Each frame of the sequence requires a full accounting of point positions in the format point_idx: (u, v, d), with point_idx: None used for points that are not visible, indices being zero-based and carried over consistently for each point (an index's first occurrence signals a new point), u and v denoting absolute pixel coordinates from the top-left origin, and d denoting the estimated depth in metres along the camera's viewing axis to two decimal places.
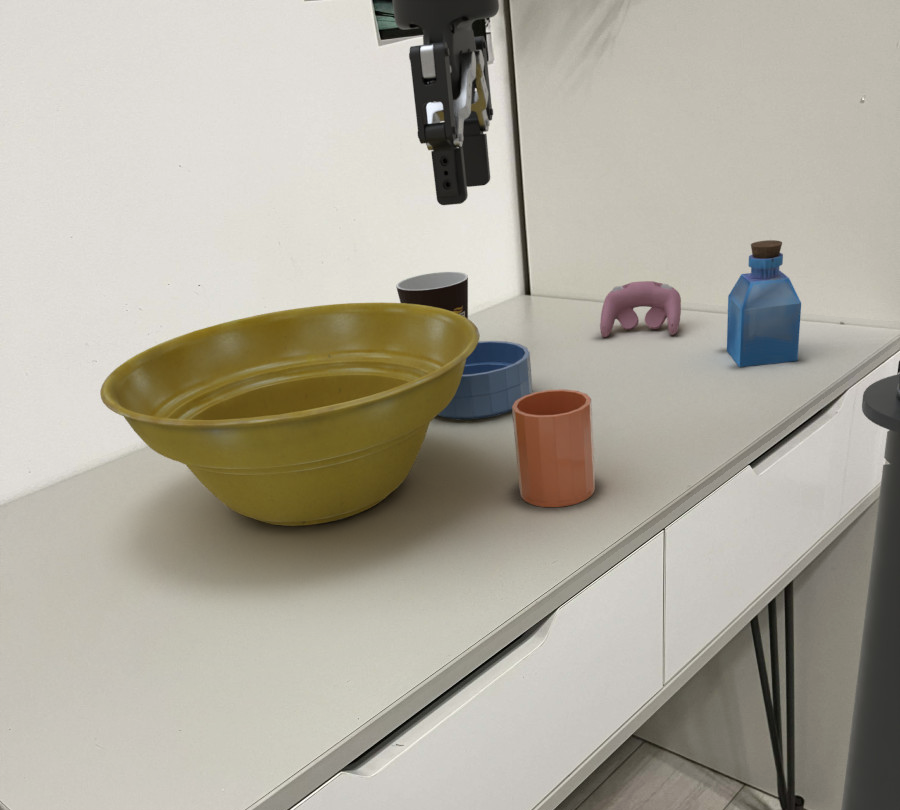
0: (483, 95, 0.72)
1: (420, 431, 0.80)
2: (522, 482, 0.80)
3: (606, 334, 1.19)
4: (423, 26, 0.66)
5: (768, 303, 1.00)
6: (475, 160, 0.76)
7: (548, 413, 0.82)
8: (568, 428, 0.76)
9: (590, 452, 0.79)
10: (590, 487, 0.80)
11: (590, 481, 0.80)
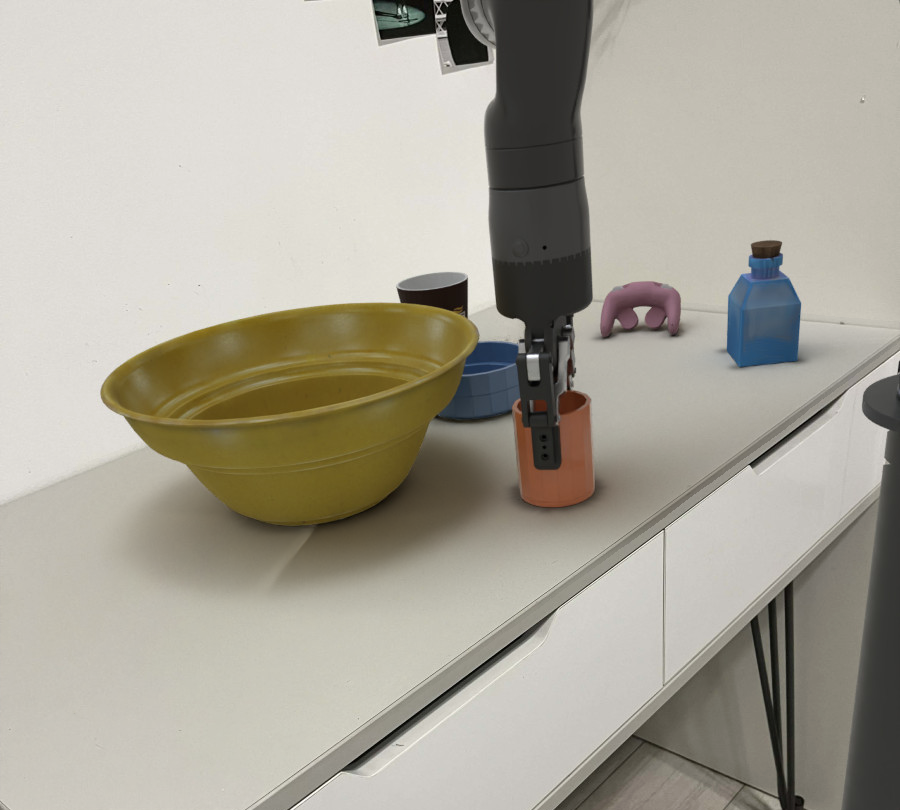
0: (572, 363, 0.78)
1: (420, 431, 0.80)
2: (522, 482, 0.80)
3: (606, 334, 1.19)
4: (526, 322, 0.72)
5: (768, 303, 1.00)
6: None
7: None
8: (568, 428, 0.76)
9: (590, 452, 0.79)
10: (590, 487, 0.80)
11: (590, 481, 0.80)
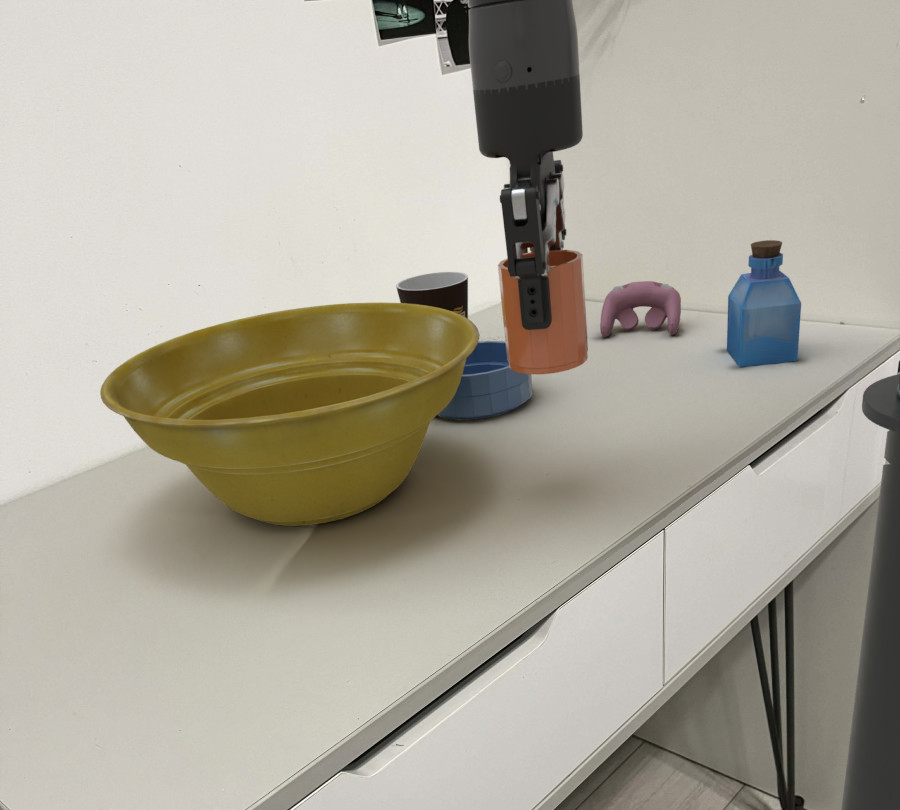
0: (561, 217, 0.73)
1: (420, 431, 0.80)
2: (510, 349, 0.75)
3: (606, 334, 1.19)
4: (510, 158, 0.66)
5: (768, 303, 1.00)
6: None
7: None
8: (558, 282, 0.71)
9: (582, 313, 0.74)
10: (583, 353, 0.75)
11: (582, 346, 0.75)
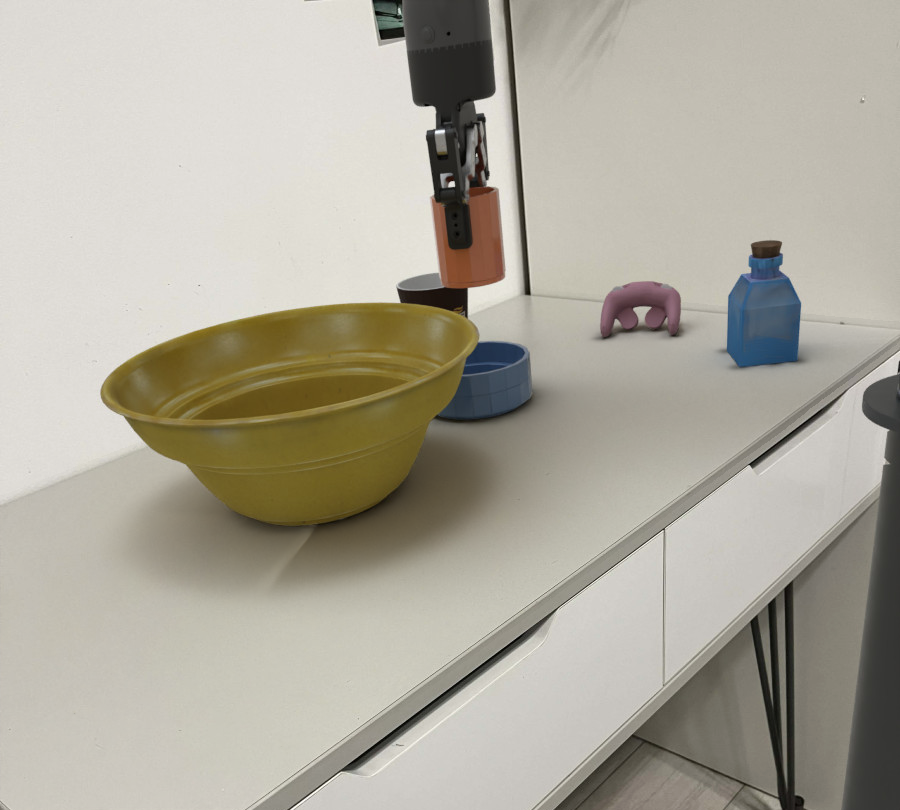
0: (482, 158, 0.89)
1: (420, 431, 0.80)
2: (440, 268, 0.92)
3: (606, 334, 1.19)
4: (436, 106, 0.83)
5: (768, 303, 1.00)
6: None
7: None
8: (477, 210, 0.87)
9: (498, 237, 0.90)
10: (500, 271, 0.91)
11: (500, 266, 0.91)
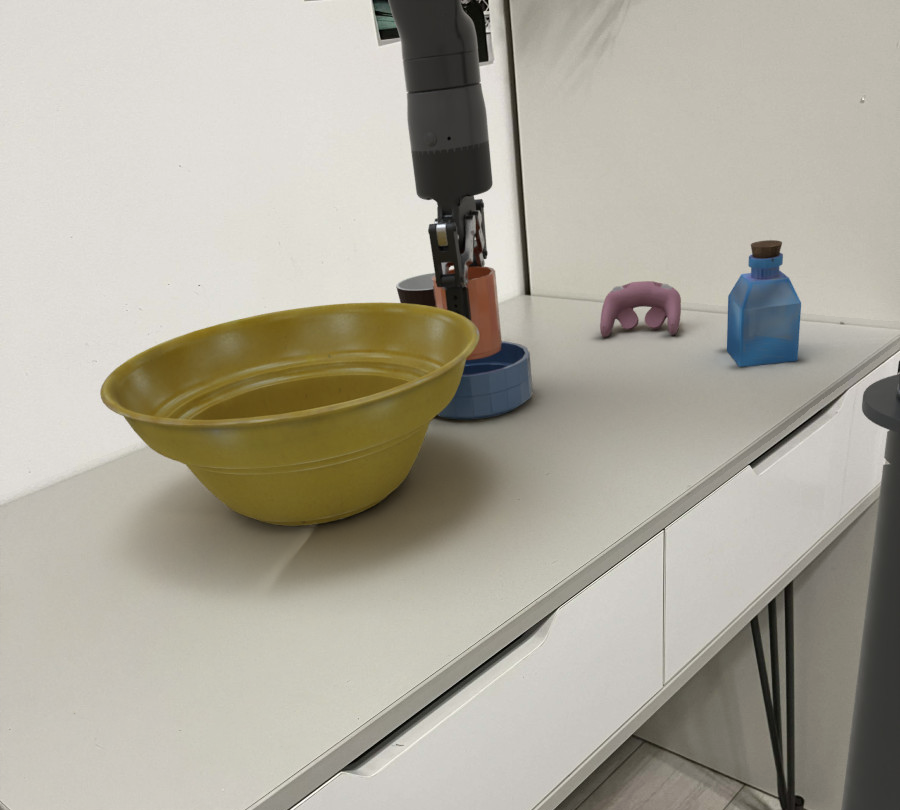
0: (480, 242, 0.97)
1: (420, 431, 0.80)
2: None
3: (606, 334, 1.19)
4: (437, 201, 0.91)
5: (768, 303, 1.00)
6: None
7: None
8: (475, 291, 0.95)
9: (495, 314, 0.98)
10: (496, 345, 0.99)
11: (496, 339, 0.99)
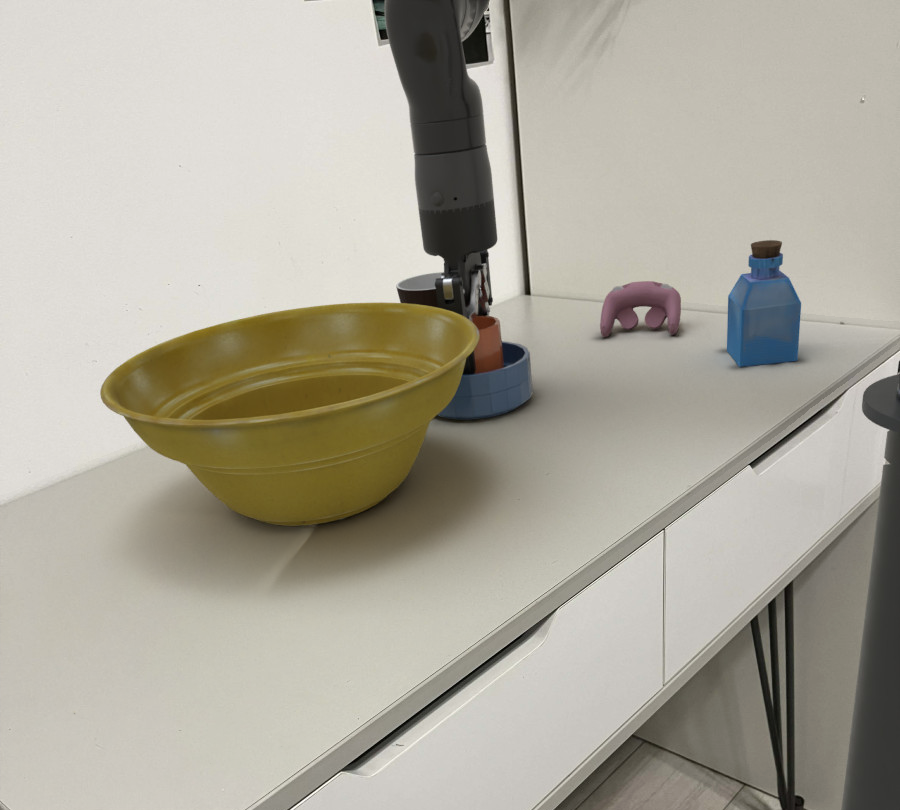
0: (485, 293, 1.00)
1: (420, 431, 0.80)
2: None
3: (606, 334, 1.19)
4: (444, 257, 0.93)
5: (768, 303, 1.00)
6: None
7: None
8: (480, 342, 0.98)
9: (500, 363, 1.00)
10: None
11: None
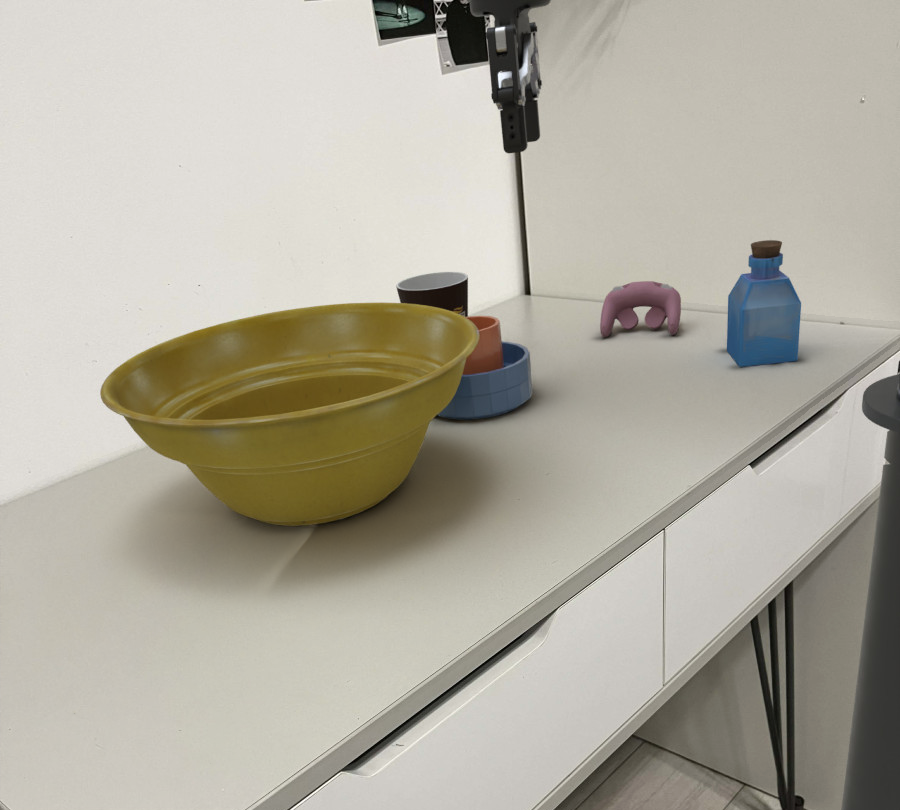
0: (536, 68, 0.92)
1: (420, 431, 0.80)
2: None
3: (606, 334, 1.19)
4: (495, 13, 0.85)
5: (768, 303, 1.00)
6: (528, 121, 0.96)
7: None
8: (480, 342, 0.98)
9: (500, 363, 1.00)
10: None
11: None
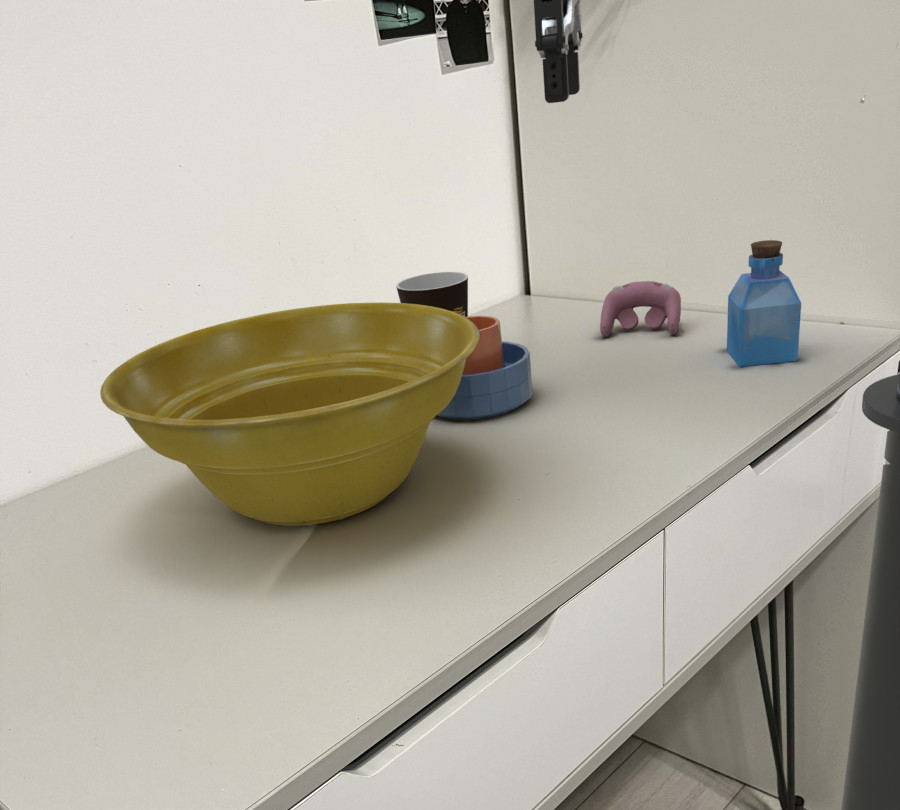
0: (579, 18, 0.92)
1: (420, 431, 0.80)
2: None
3: (606, 334, 1.19)
4: None
5: (768, 303, 1.00)
6: (568, 73, 0.96)
7: None
8: (480, 342, 0.98)
9: (500, 363, 1.00)
10: None
11: None
